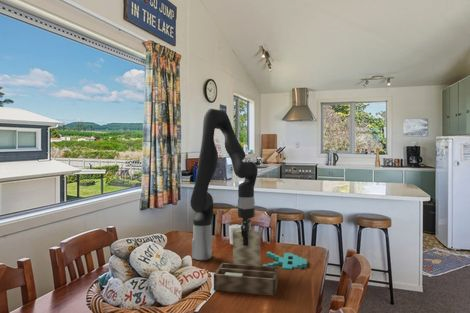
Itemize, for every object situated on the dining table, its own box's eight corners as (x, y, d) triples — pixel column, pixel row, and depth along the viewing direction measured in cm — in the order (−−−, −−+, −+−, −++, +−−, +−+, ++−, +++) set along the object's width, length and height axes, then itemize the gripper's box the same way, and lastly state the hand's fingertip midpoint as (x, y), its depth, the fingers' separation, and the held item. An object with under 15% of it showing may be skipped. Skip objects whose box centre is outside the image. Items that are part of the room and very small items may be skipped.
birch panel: (232, 264, 149) (232, 231, 148) (234, 262, 152) (234, 229, 151) (259, 266, 146) (259, 232, 146) (260, 263, 149) (260, 231, 149)
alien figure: (262, 270, 152) (307, 274, 148) (262, 266, 151) (307, 269, 147) (267, 255, 171) (306, 258, 167) (267, 251, 171) (306, 254, 167)
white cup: (238, 246, 185) (238, 228, 185) (226, 244, 190) (226, 226, 189) (245, 242, 192) (245, 225, 192) (233, 240, 196) (233, 224, 196)
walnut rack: (213, 292, 129) (213, 274, 129) (221, 278, 142) (221, 262, 141) (275, 298, 124) (275, 279, 124) (277, 283, 137) (278, 266, 136)
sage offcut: (223, 288, 130) (223, 276, 130) (225, 284, 134) (225, 272, 134) (240, 290, 128) (240, 277, 128) (242, 285, 132) (242, 273, 132)
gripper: (240, 203, 155) (241, 239, 156) (234, 209, 142) (235, 248, 142) (256, 203, 154) (256, 240, 155) (252, 209, 140) (252, 249, 141)
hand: (246, 244), depth 149 cm, fingers closed on birch panel, 3 cm apart
